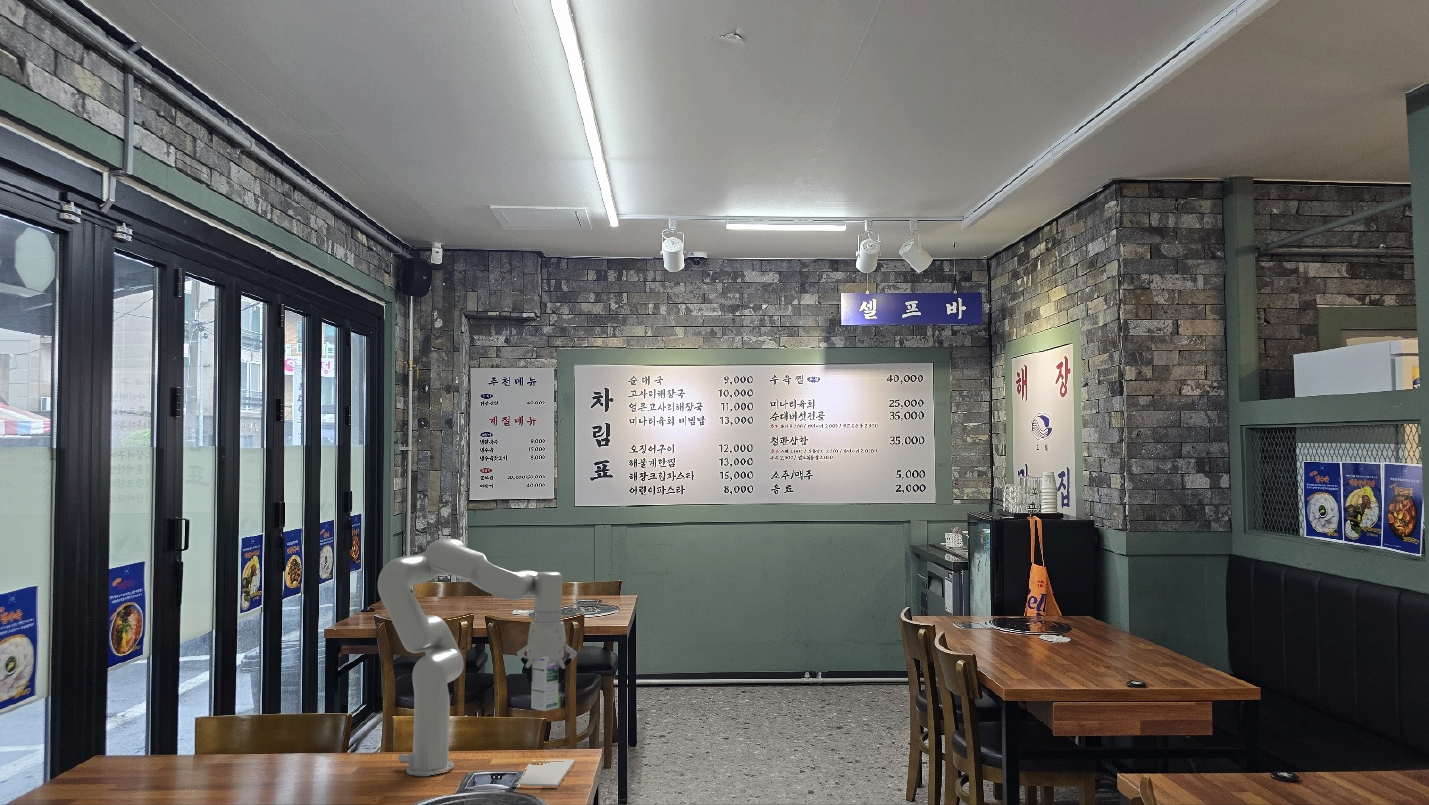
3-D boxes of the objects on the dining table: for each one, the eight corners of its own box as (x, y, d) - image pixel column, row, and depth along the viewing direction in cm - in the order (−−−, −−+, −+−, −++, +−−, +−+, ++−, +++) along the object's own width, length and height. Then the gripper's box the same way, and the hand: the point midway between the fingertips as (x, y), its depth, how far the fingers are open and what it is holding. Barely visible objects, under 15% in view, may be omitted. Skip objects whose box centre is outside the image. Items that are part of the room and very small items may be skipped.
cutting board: (511, 788, 230) (511, 783, 230) (533, 763, 252) (533, 758, 252) (557, 789, 229) (557, 784, 229) (575, 764, 251) (575, 759, 251)
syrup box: (544, 711, 238) (546, 656, 240) (530, 708, 242) (531, 654, 244) (560, 707, 243) (562, 653, 245) (545, 704, 247) (547, 651, 248)
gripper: (513, 618, 242) (511, 684, 240) (575, 619, 241) (574, 685, 239) (520, 615, 249) (518, 679, 248) (581, 616, 248) (580, 680, 247)
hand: (546, 682), depth 243 cm, fingers closed on syrup box, 7 cm apart
